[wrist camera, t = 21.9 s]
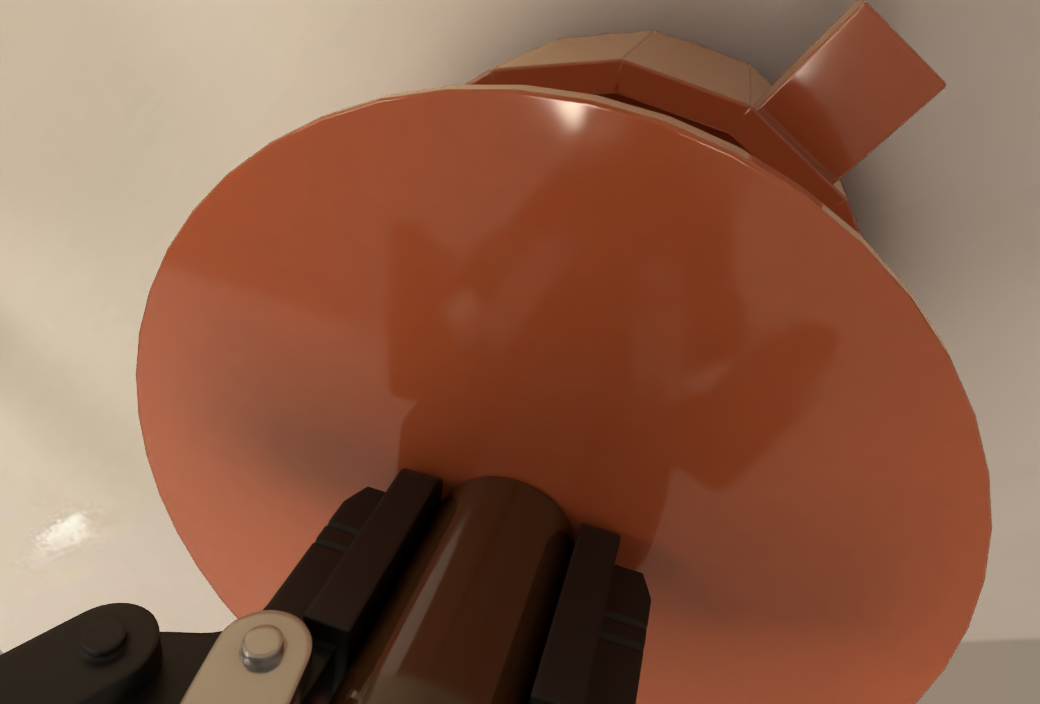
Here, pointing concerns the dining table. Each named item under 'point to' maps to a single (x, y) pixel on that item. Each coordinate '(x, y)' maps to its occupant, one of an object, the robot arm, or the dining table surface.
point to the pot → (755, 93)
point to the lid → (568, 400)
